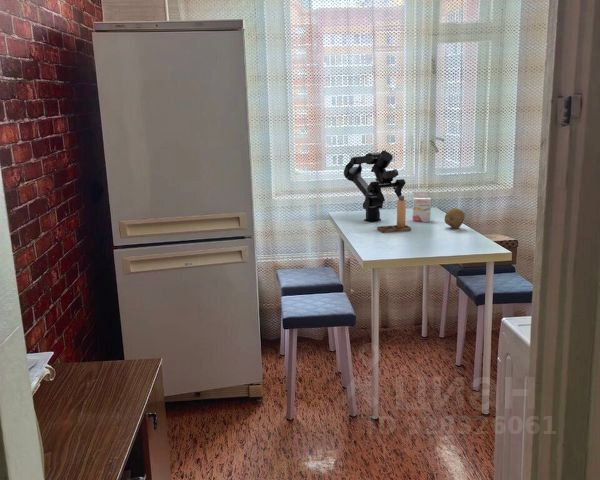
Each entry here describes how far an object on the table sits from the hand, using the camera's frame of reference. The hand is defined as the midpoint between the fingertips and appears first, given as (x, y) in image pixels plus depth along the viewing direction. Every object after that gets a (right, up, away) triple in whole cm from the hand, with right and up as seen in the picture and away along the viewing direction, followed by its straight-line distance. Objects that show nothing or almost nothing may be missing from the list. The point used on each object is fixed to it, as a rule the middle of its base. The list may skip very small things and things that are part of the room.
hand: (392, 200), depth 297 cm
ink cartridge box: (+17, -10, +16) cm, 25 cm away
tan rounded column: (+3, -14, -4) cm, 15 cm away
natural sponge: (+29, -14, -3) cm, 32 cm away
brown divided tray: (0, -15, -5) cm, 16 cm away
